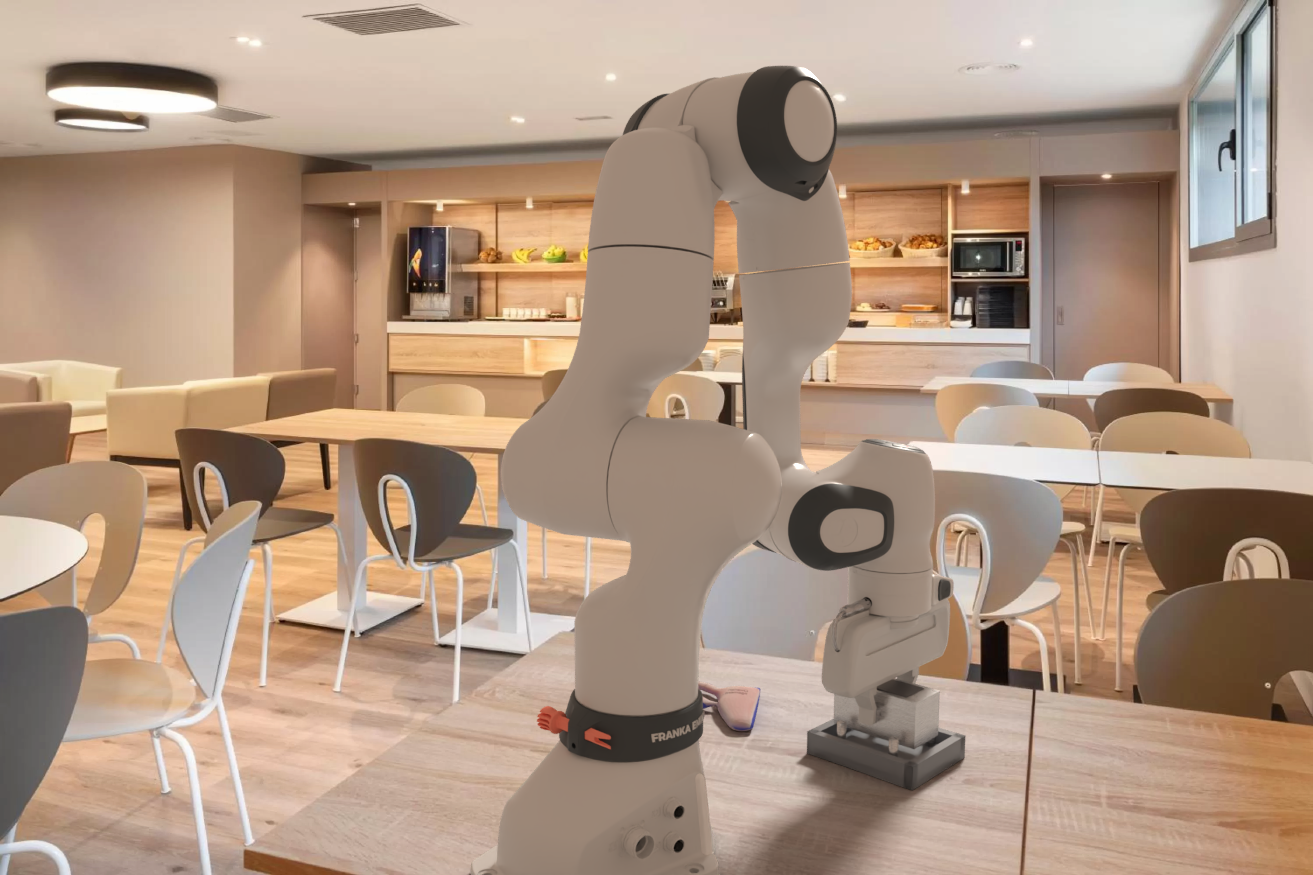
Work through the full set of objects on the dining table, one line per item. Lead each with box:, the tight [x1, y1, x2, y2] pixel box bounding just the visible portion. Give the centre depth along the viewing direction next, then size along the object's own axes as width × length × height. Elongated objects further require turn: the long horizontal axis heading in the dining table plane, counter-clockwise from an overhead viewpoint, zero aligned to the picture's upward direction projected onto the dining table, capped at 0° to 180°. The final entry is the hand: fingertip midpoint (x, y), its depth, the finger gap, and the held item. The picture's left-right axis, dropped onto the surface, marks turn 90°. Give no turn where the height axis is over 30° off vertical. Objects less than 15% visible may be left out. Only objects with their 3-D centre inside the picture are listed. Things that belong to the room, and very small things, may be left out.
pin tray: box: [806, 718, 966, 791], centre depth 115 cm, size 11×13×4 cm
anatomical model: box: [698, 680, 761, 732], centre depth 130 cm, size 20×3×15 cm
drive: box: [833, 677, 941, 749], centre depth 115 cm, size 5×10×5 cm, turn 46°
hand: (885, 714), depth 115 cm, fingers closed on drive, 5 cm apart
